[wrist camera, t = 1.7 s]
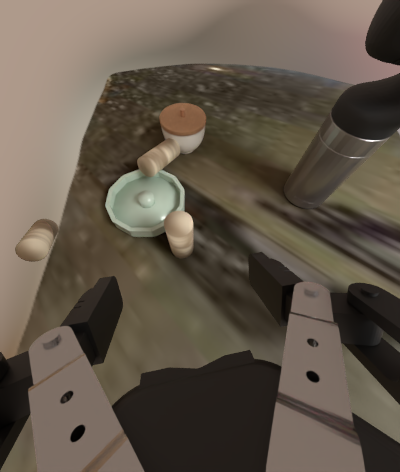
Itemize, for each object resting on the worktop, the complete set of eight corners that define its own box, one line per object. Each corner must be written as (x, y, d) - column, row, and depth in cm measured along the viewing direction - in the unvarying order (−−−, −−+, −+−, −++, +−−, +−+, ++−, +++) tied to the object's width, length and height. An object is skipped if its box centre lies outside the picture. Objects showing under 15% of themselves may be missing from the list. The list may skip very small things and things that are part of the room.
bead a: (179, 234, 39) (174, 206, 30) (197, 244, 38) (198, 218, 29) (166, 251, 37) (157, 227, 28) (186, 262, 36) (183, 241, 27)
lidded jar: (159, 138, 51) (151, 100, 43) (195, 128, 53) (195, 91, 45) (172, 165, 47) (167, 129, 39) (211, 154, 49) (214, 118, 41)
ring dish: (141, 167, 47) (138, 158, 44) (197, 194, 43) (197, 186, 41) (95, 215, 40) (88, 207, 38) (157, 250, 37) (154, 244, 35)
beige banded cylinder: (155, 180, 41) (180, 159, 46) (153, 161, 37) (180, 141, 43) (139, 172, 42) (165, 153, 47) (135, 154, 38) (164, 135, 44)
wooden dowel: (47, 215, 40) (33, 235, 32) (63, 230, 43) (54, 252, 35) (27, 225, 40) (8, 248, 32) (44, 240, 42) (30, 265, 34)
